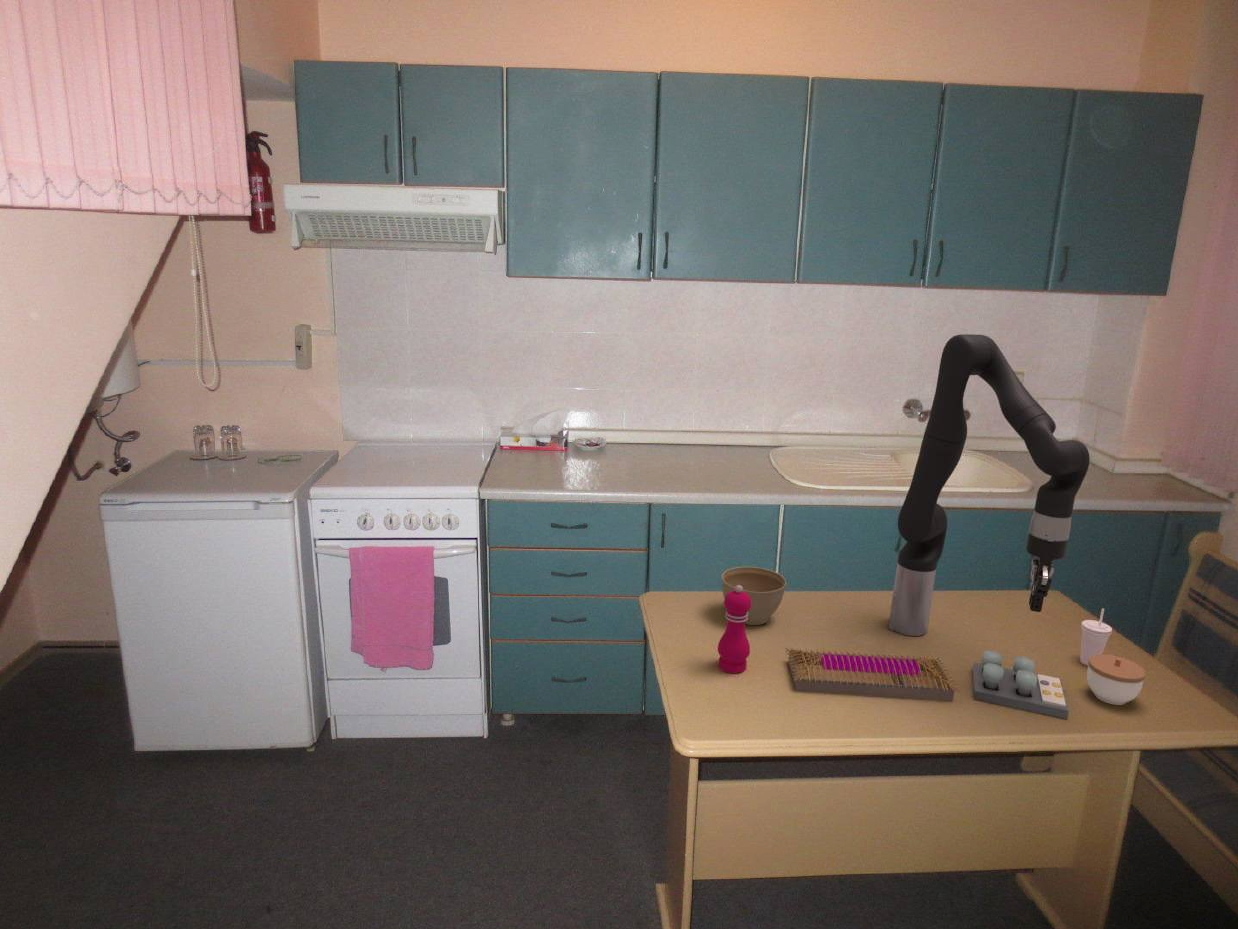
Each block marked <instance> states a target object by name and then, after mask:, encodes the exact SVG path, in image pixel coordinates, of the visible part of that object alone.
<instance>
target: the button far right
mask: <svg viewBox="0 0 1238 929" xmlns="http://www.w3.org/2000/svg"><path fill="white" fill-rule="evenodd" d="M1035 665H1036V662H1035V661H1034V660H1033V659H1032V658H1028V657H1027V656H1015V658H1014V662H1013V668H1012V670H1014V671H1015V672H1016V674H1017V671H1018V670H1027V671H1031V672H1033V673H1034V671H1035Z"/></svg>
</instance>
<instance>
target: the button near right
mask: <svg viewBox="0 0 1238 929" xmlns="http://www.w3.org/2000/svg"><path fill="white" fill-rule="evenodd" d="M1036 683H1037V675H1036V673H1035V672H1034V671H1033V672H1031V671H1027V670H1018V671H1017V674H1016V680H1015V684H1016V685H1017V686H1018V694H1020V695H1022V696H1030V691H1031V690H1034V689H1035V688H1036Z"/></svg>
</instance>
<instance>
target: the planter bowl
mask: <svg viewBox="0 0 1238 929" xmlns="http://www.w3.org/2000/svg"><path fill="white" fill-rule="evenodd" d="M721 582H722V584H721V585H722V586H721V587H722V595H723V600H725V597H726V595H727V594H728V593H729V592H731V591H734V590H735V587H736V586H737V585H741V586H742V587H743V591H744V592H746V593H747V594H748V595H749V596H750V598H751V608H750V610H749V611H748V619H747V621H745V625H749V626H759V625H764V624H766V623H768V622H769V621H770V619H771V616H772V615H773V614H774V613H775V612H776V611H777V610H778V608H779V606H780V605H781V602H782V601H783V596H784V594H785V588H786V586H787V581H786V579H785V577H784V576H782V575H781V574H780V573H778V572H776V571H774V570H771V569H767V568H763V567H758V566H757V567H756V566H737V567H733V568H732V567H731V568H729V569H727V570H725V571H724V572H722V575H721Z"/></svg>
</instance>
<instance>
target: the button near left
mask: <svg viewBox="0 0 1238 929" xmlns="http://www.w3.org/2000/svg"><path fill="white" fill-rule="evenodd" d="M1003 668H1004V667H1002V665H1001V666H999V665H996V664H992V663H987V664H985V665H984V669H983V675H982V677H983V678H984V679H985V680H986V681H985V687H987V688H989V689H997V684H998V683H1001V682H1002V680H1003V674H1004V669H1003Z"/></svg>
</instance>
